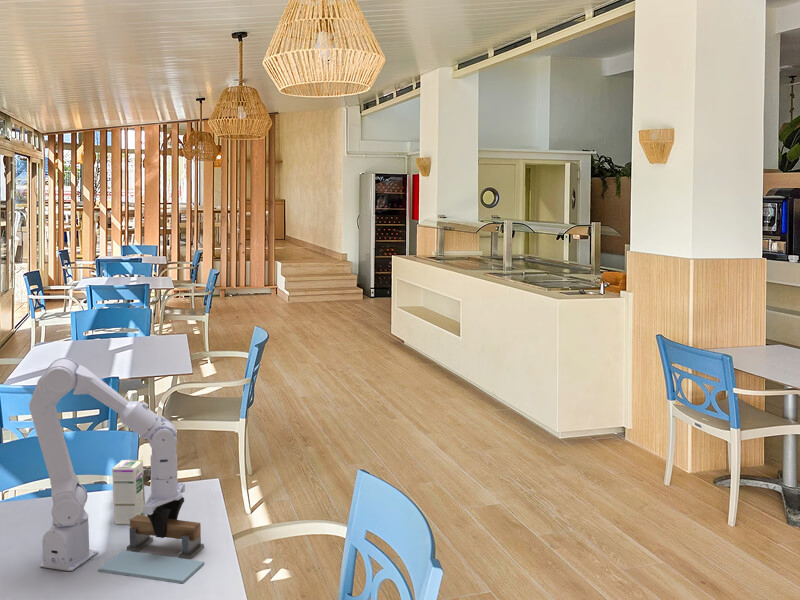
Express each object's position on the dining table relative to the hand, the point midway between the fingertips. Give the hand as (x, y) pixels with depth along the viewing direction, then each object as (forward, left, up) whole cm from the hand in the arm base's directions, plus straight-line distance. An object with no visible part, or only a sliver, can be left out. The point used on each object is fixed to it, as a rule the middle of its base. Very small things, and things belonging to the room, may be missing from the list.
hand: (165, 533), depth 174 cm
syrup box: (+12, +17, -4) cm, 21 cm away
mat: (-9, -2, -4) cm, 10 cm away
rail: (0, 0, 0) cm, 0 cm away
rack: (0, 0, -4) cm, 4 cm away
